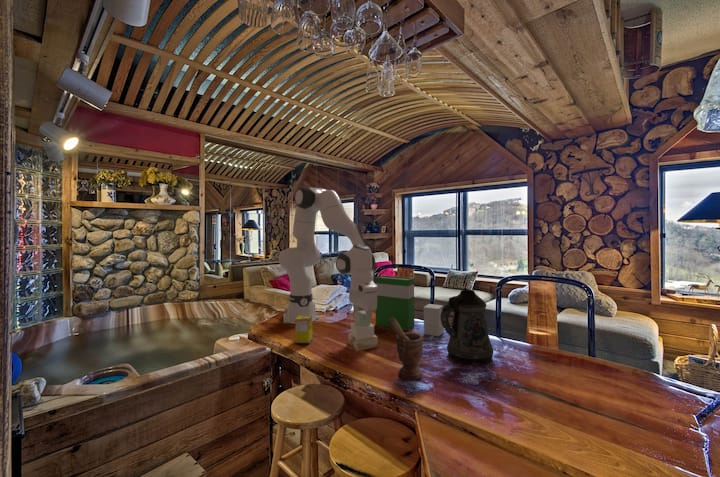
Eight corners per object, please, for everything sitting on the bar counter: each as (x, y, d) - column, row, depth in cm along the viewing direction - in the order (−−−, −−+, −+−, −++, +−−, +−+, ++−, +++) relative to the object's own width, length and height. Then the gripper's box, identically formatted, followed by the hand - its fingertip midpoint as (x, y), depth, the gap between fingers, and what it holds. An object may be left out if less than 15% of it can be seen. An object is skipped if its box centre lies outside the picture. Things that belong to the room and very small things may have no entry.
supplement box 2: (444, 332, 148) (444, 305, 147) (438, 336, 141) (438, 308, 141) (428, 329, 152) (428, 303, 151) (423, 334, 145) (423, 306, 145)
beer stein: (500, 355, 120) (500, 290, 119) (479, 373, 106) (479, 299, 105) (458, 345, 131) (458, 285, 131) (434, 359, 117) (434, 292, 116)
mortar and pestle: (405, 387, 97) (405, 323, 96) (384, 378, 103) (384, 317, 103) (428, 375, 104) (428, 315, 104) (407, 367, 111) (407, 310, 110)
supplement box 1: (312, 339, 139) (312, 315, 139) (309, 344, 133) (308, 319, 133) (299, 339, 140) (299, 314, 139) (295, 344, 134) (294, 318, 133)
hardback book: (375, 324, 160) (375, 277, 159) (382, 320, 166) (382, 275, 166) (408, 330, 151) (408, 280, 150) (414, 326, 157) (414, 277, 156)
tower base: (348, 344, 135) (348, 333, 134) (367, 340, 139) (367, 330, 138) (357, 351, 126) (357, 340, 126) (377, 347, 130) (377, 336, 130)
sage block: (354, 323, 133) (354, 311, 133) (365, 322, 136) (365, 310, 135) (359, 326, 129) (359, 314, 129) (370, 325, 131) (370, 313, 131)
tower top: (350, 333, 134) (350, 323, 134) (367, 331, 137) (367, 321, 137) (356, 339, 127) (356, 328, 127) (374, 337, 130) (374, 326, 130)
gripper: (345, 281, 140) (345, 312, 140) (365, 289, 121) (365, 325, 122) (358, 280, 142) (358, 310, 143) (380, 287, 124) (380, 322, 124)
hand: (361, 317), depth 132 cm, fingers open, 8 cm apart
